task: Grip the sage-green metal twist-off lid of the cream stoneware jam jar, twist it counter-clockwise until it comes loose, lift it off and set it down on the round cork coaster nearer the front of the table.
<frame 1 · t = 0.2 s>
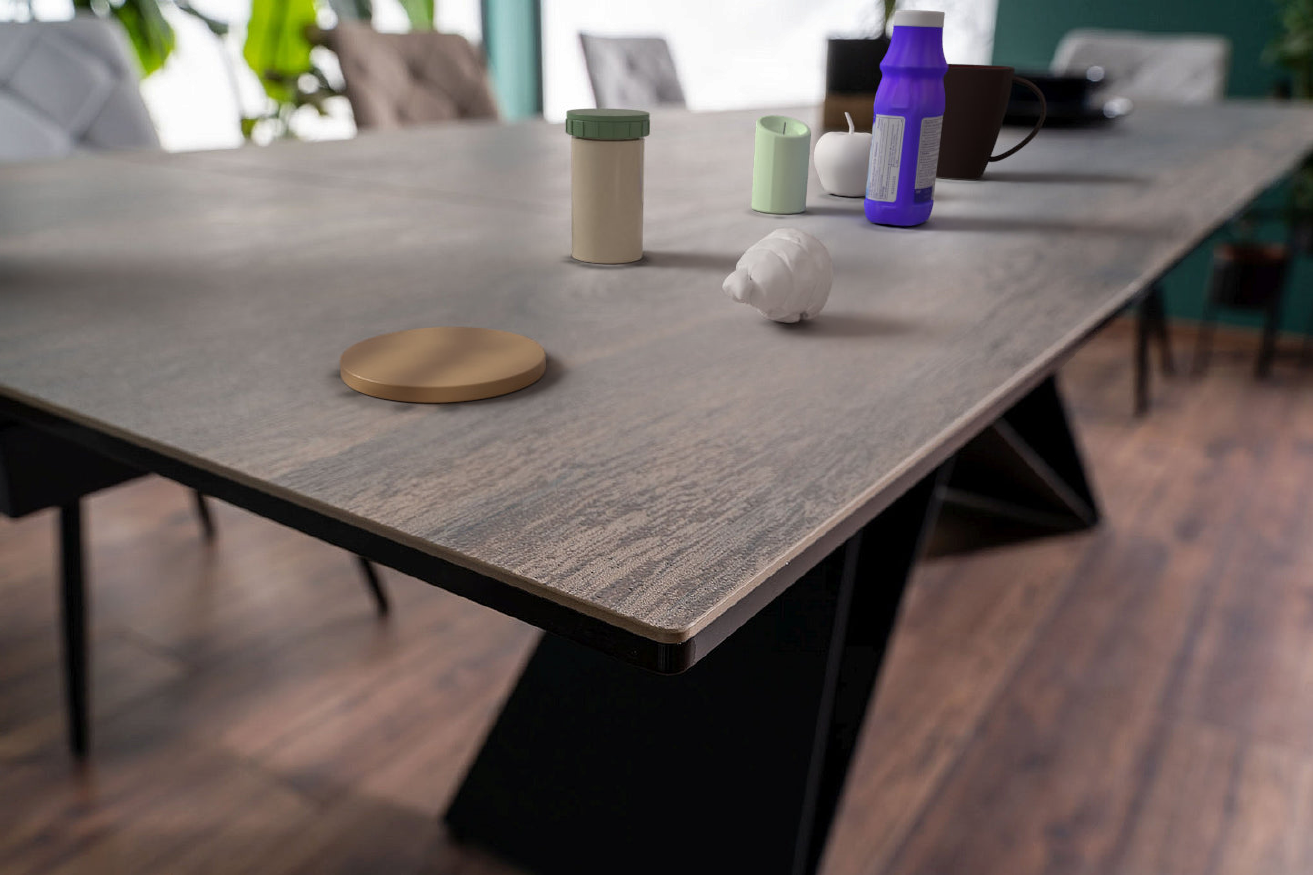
coaster: (445, 369, 54), on the table
jar: (607, 256, 79), on the table
garlic bulb: (766, 328, 63), on the table
bottle: (896, 224, 96), on the table
lid: (608, 118, 76), point 10 cm above the table, screwed on, not yet turned
cup: (972, 179, 124), on the table
candle: (778, 211, 100), on the table
plain white apple: (846, 196, 109), on the table
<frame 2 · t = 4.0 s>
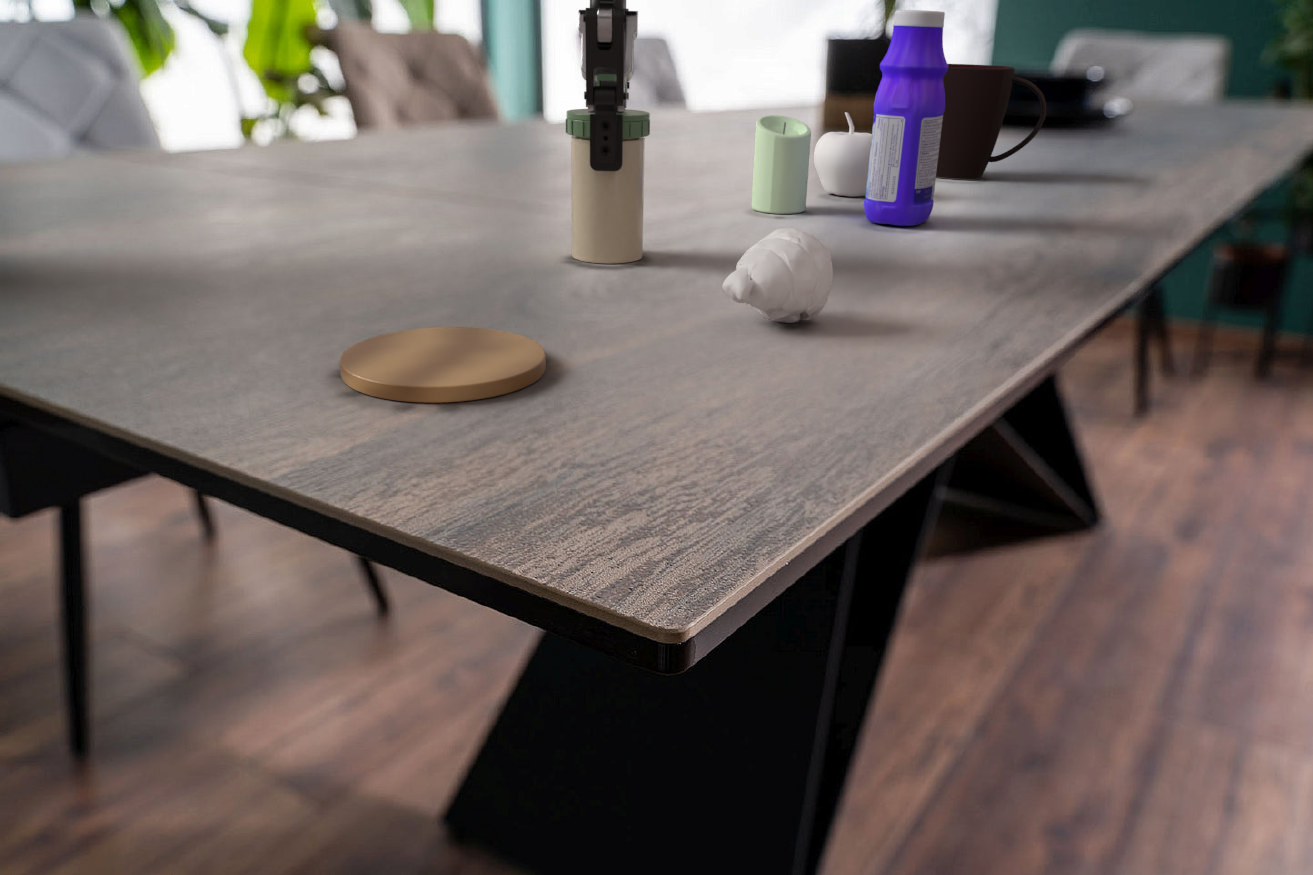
hand: (607, 163, 77), 7 cm above the table, tool pointing down, fingers closed on lid, 5 cm apart
lid: (608, 117, 76), point 10 cm above the table, screwed on, not yet turned, touching gripper
everything else where it was.
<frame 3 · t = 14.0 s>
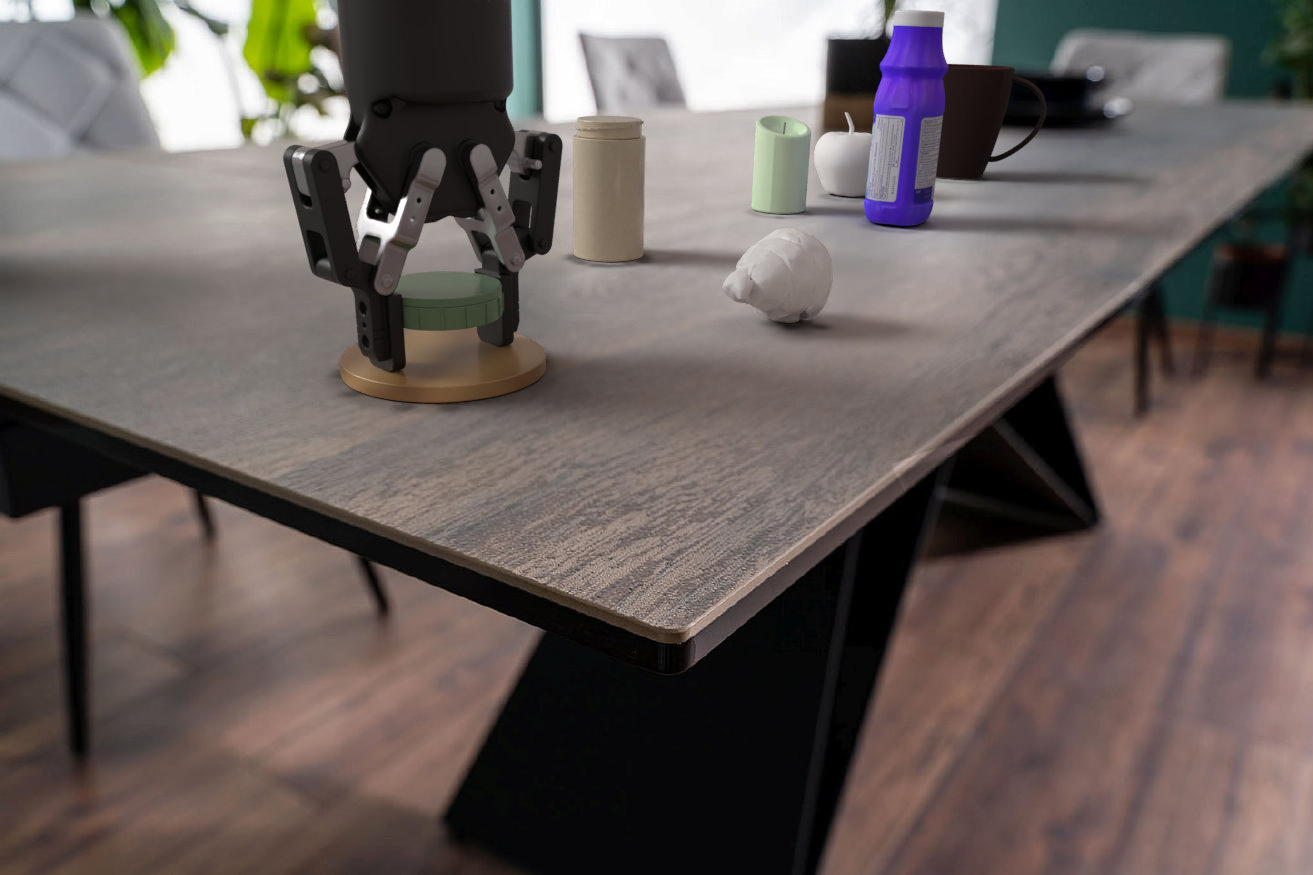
hand: (444, 353, 53), 1 cm above the table, tool pointing down, fingers closed on lid, 5 cm apart
lid: (441, 292, 52), point 4 cm above the table, off its thread, touching gripper
everything else where it was.
when the fingers open (2 cm above the table, at t = 24.4 s): lid drops 3 cm, resting on coaster.
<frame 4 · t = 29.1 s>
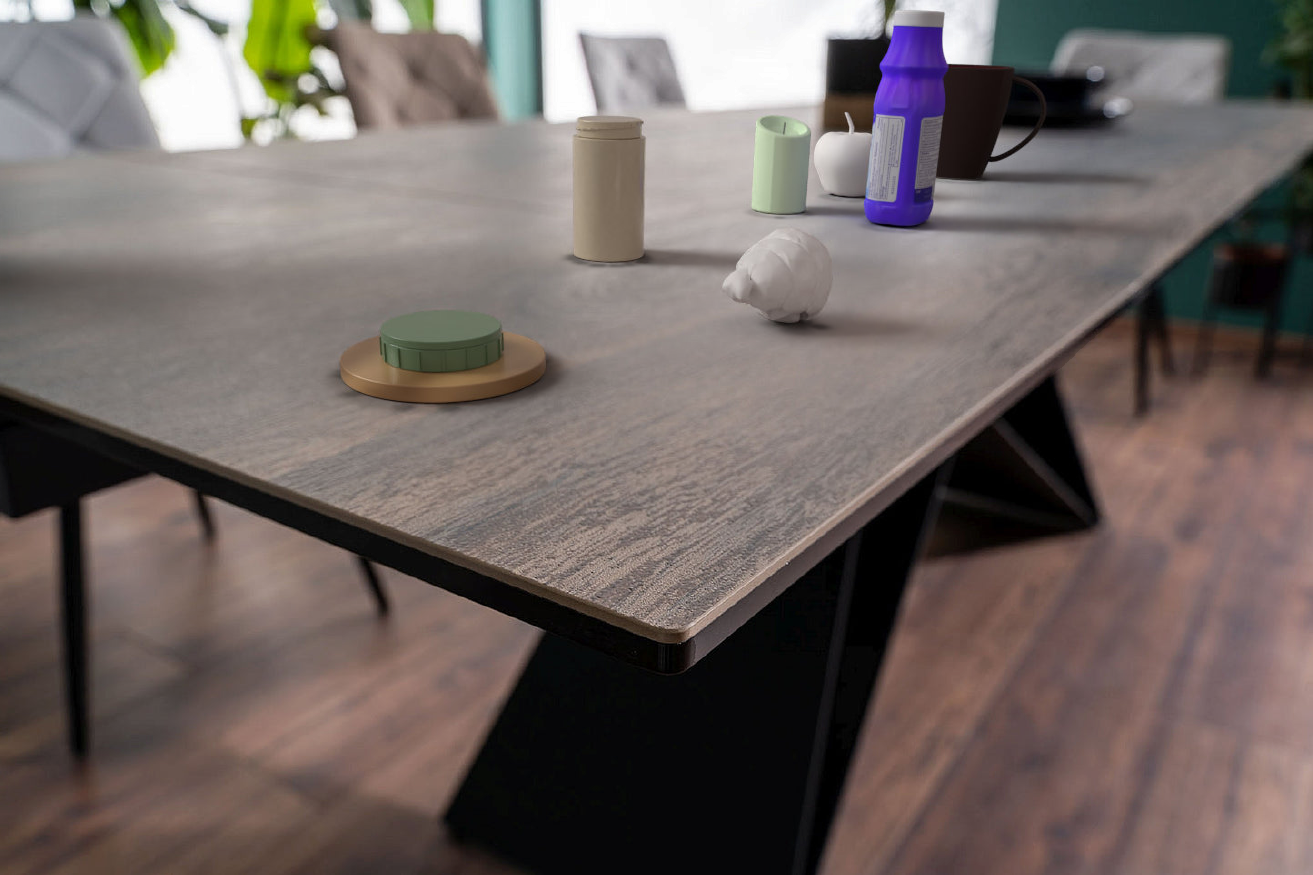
lid: (441, 333, 53), point 2 cm above the table, off its thread, touching coaster
everything else where it was.
at the end: lid came off its thread; lid inside the target area on the coaster (0.1 cm from its centre), point 1.9 cm above the coaster's base; the gripper is holding nothing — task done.
